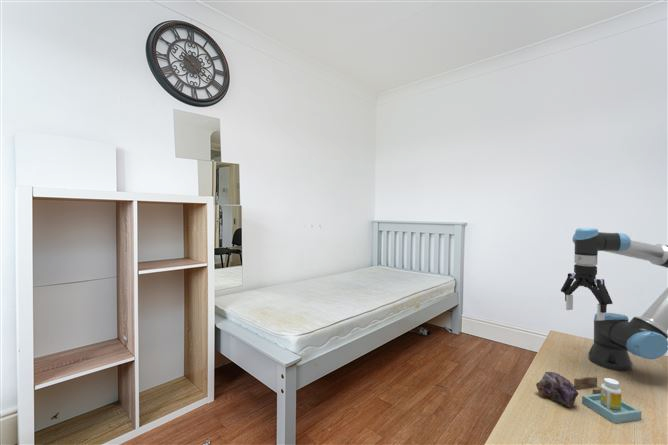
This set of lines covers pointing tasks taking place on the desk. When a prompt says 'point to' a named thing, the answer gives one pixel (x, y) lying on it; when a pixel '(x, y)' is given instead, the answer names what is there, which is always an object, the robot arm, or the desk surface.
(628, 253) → the robot arm
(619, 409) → the supplement bottle
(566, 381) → the rock
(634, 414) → the tray
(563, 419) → the desk surface
